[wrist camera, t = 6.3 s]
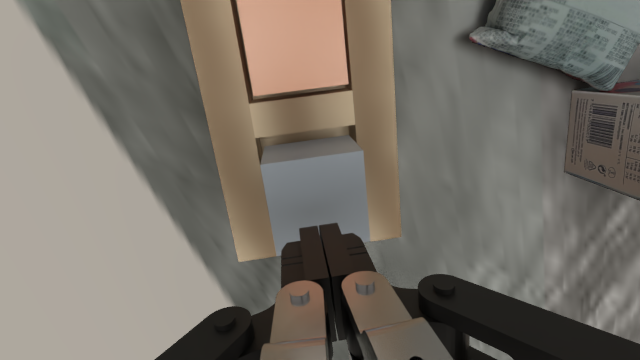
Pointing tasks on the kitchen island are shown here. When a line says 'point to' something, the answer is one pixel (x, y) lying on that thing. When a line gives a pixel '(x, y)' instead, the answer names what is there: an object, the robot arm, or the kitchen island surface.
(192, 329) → the robot arm
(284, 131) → the light brown rectangular frame
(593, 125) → the juice carton
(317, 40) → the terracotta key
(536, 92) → the kitchen island surface
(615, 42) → the packaged food
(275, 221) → the slate key
